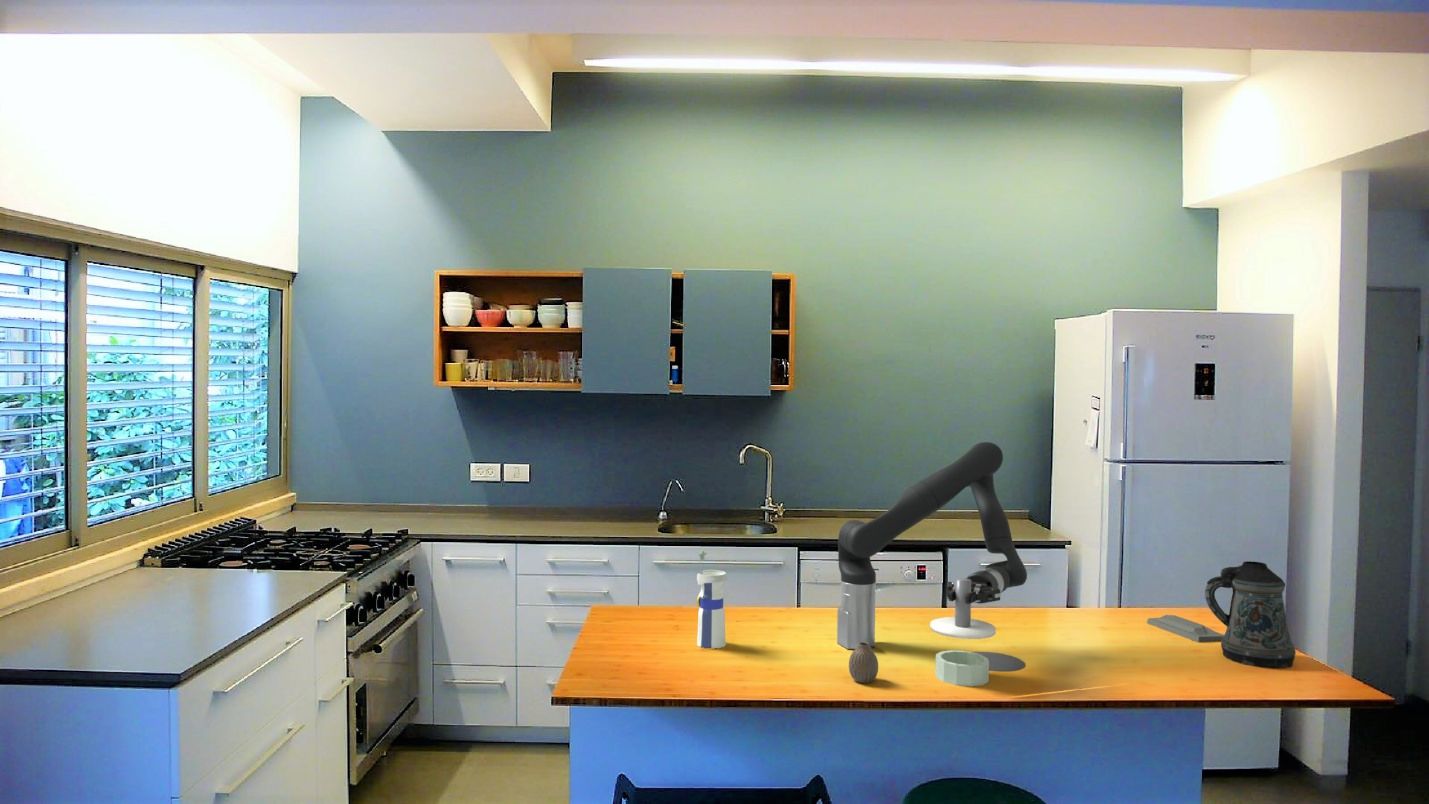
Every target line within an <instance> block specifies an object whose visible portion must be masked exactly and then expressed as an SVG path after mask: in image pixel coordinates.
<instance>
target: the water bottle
mask: <svg viewBox="0 0 1429 804" xmlns="http://www.w3.org/2000/svg"><path fill="white" fill-rule="evenodd" d="M707 554H708V552H705V551H704V549H702V550H701V553H698V556H699V559H698V560H699V562H701V561H705V560H706V559H705V557H706V555H707ZM727 579H728V576H727V573H726V572H725V571H723V570H718V569H716V570H715V569H704V570H702V574H701V573H697V575H696V582H697V585H698V586H699V585H700V586H701V589H700V592H699V593H698V596H697V600H696V604H697V607H698V608H699V609H698V616H697V617H698V618H697V620H698V621H697V639H696V646H697V647H699V648H702V647H704V648H703V649H707V648H712V649H713V650H714V649H715V648H717V649H721V647H722V648H724V647H726V646H727V645H726V643H727V642H726V612H725V611H726V610H725V608H724V597H726V594H725V592H724V590H723V589H724V588H723V587H724V586H723V585H724V581H727ZM712 649H711V650H712ZM715 650H716V649H715Z"/></svg>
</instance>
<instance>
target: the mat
mask: <svg viewBox="0 0 1429 804" xmlns="http://www.w3.org/2000/svg"><path fill="white" fill-rule="evenodd" d="M972 652H973V653H977V654H980V655H983V656H985V657H987V658H988V661H989V672H990V671H991V672H1002V673H1003V672H1005V673H1006V672H1016V671H1021V670H1023V669H1025V667H1026V662H1024V660H1022V659H1020V658H1018V657H1016V656H1014V655H1010V654H1006V653H1000V652H994V651H972Z"/></svg>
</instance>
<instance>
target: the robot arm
mask: <svg viewBox="0 0 1429 804" xmlns="http://www.w3.org/2000/svg"><path fill="white" fill-rule="evenodd" d="M1003 460H1004V455H1003V451H1002V449H1001V448H1000V447H999V446H998V445H997V444H995V443H993V442H989V441H983V442H978V443H976V444H974V445H973V446H972V447H971V448H970V449H969V450H967V451H966V453H964V454H962V456H960V457H958V459H956V460H955V461H954V462H953V463H950V464H949V465H947V466H945V467H943V468H941V469H939V470H937V471H935V472H933V473H932V474H930V475H928V476H926V477H924V478H923V479H921V480H919V481H917V482H915V483H914V484H912V485H911V486H909V487H908V488H907V489H905V490H904V491H903V492H902V493H901V494H900V495H899V496H898V497H897V498H896V500H895V501H894V502H893V504H892V505H891V506H890V507H889V509H888V510H886V511H885V512H883V513H882V514H881V515H878V516H877V517H875V518H873V519H871V520H870V521H867V522H865V521H861V520H855V519H851V520H848V521H847V522H845V523H844V524H842V526H841V528H840V530H839V533H838V539H837V540H838V541H837V546H838V547H837V548H838V549H837V552H838V553H837V554H838V555H837V557H838V569H839V572H840V607H838V608H837V617H836V618H837V625H836V626H837V627H836V628H837V629H836V631H837V632H836V633H837V634H836V635H837V636H836V638H837V639H836V643H837V644H839V645H840V646H842V647H844V648H845V649H848V650H849V649H850V650H855V649H856V648H857V646H858V644H859V643H861V642H865V643H868V644H869V646H870V648H871V649H872V648H874V647H875V645H876V597H877V596H876V595H877V594H876V591H877V589H876V585H877V584H876V583H877V582H876V581H877V580H876V579H877V573H876V571H875V569H874V567H873V565H872V563H871V562H872V561H871V558H872V557H873V556H875V555H876V554H877V553H879V552H880V551H882V550H883V548H885V547H886V546H887V545H888V544H890V543H891V542H892V541H893V540H895V539H896V538H897V537H899V536H900V535H901V534H903V533H904V532H906V531H908V530H910V529H911V528H912V527H914V526H916V524H919V523H920V522H922V521H924V520H925V519H926V518H928V517H930V516H931V515H933V514H934V513H935V512H938V511H939V510H941V509H942V508H943V507H945V506H946V505H947V504H948V503H950V502H951V501H952V500H953V499H954V498H955V497H957V496H958V495H959V494H960V493H961V492H962V491H963V490H964V489H966V488H968V486H970V489H971V493H972V495H973V498H974V501H975V504H976V508H977V512H978V515H979V519H980V523H981V528H982V533H983V539H984V542H985V547H986V548H985V549H986V551H987V552H988V553H990V554H995V555H996V554H999V555H1000V554H1003V555H1004V556H1005V558H1006V560H1003V561H997V562H996V561H995V562H992V563H989V564H987V565H986V566H985V568H981V569H979V570H977V571H975V572H973V573H971V574H969V575H968V576H966V578H967V579H970V580H971V593H969V594H967V595H966V604H971V605H972V603H974V604H979V605H980V604H981V605H982V604H986V603H991V602H998V601H1001V593H1003V592H1004V591H1006V590H1007V589H1008V588H1015V587H1019V586H1024V584H1025V583H1026V582H1027V580H1028V572H1027V569H1026V566H1025V564H1024V563H1023V561H1022V559H1021V557H1020V556H1019V554H1018V552H1017V549H1016V546H1015V545H1014V541H1013V537H1012V532H1011V529H1010V525H1009V524H1010V523H1009V520H1008V518H1007V515H1006V513H1005V510H1004V509H1003V507H1002V505H1001V503H1000V502H999V501H1000V500H999V499H998V497H997V494H996V489H995V484H994V474H995V473H997V472H998V471H999V470H1000V468H1001V466H1002V465H1003ZM955 586H956V584H954V583H953V582H951V581H947V582H946V597H947V599H948V601H949V602H955Z"/></svg>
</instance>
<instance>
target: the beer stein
mask: <svg viewBox="0 0 1429 804" xmlns="http://www.w3.org/2000/svg"><path fill="white" fill-rule="evenodd" d="M1206 584H1207V585H1206V586H1205V591H1204V597H1205V601H1206V603H1207V606H1208V608H1209V609H1210V611H1211V612H1212V614H1214V616H1215V617H1216V618H1217V619H1218V620H1219V621H1220V622H1221V623H1222V624H1223V625H1225V627H1226V629H1225V631H1224V632H1225V633H1224V634H1223V635H1224V637H1223V639H1222V640H1221V641H1220V645H1221V650H1222V655H1223V657H1225V659H1228V660H1230V661H1232V662H1236V663H1238V664H1241V665H1243V666H1249V667H1255V668H1262V669H1272V670H1274V669H1277V670H1279V669H1284V670H1285V669H1288V668H1292V666H1293V664H1294V661H1295V657H1296V653H1297V652H1296V649H1295V647H1294V646H1295V645H1294V644H1293V642H1292V639H1291V635H1290V630H1289V628H1288V623H1287V616H1286V610H1285V602H1284V599H1283V598H1284V597H1283V592H1284V591H1285V587H1286V583H1285V581H1284V580H1283V579H1282V577H1279V576H1278V575H1277V574H1276V573H1275V572H1273V571H1272V570H1271V569H1270V568H1269V567H1268V566H1267V563H1265V562H1259V561H1243V562H1242V564H1241V565H1238V566H1229V567H1224V568H1222V569H1221V571H1220V576H1214V577H1211V578H1210V579H1209V580H1208V581H1207V582H1206ZM1220 588H1224V589H1225V588H1226V589H1231V588H1232V595H1231V600H1230V606H1229V614H1227V613H1226V612H1225V611H1224V609H1222V608H1221V607H1220V605H1219V603H1218V601H1217V600H1216V596H1215V593H1216V591H1217V589H1220Z"/></svg>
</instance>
